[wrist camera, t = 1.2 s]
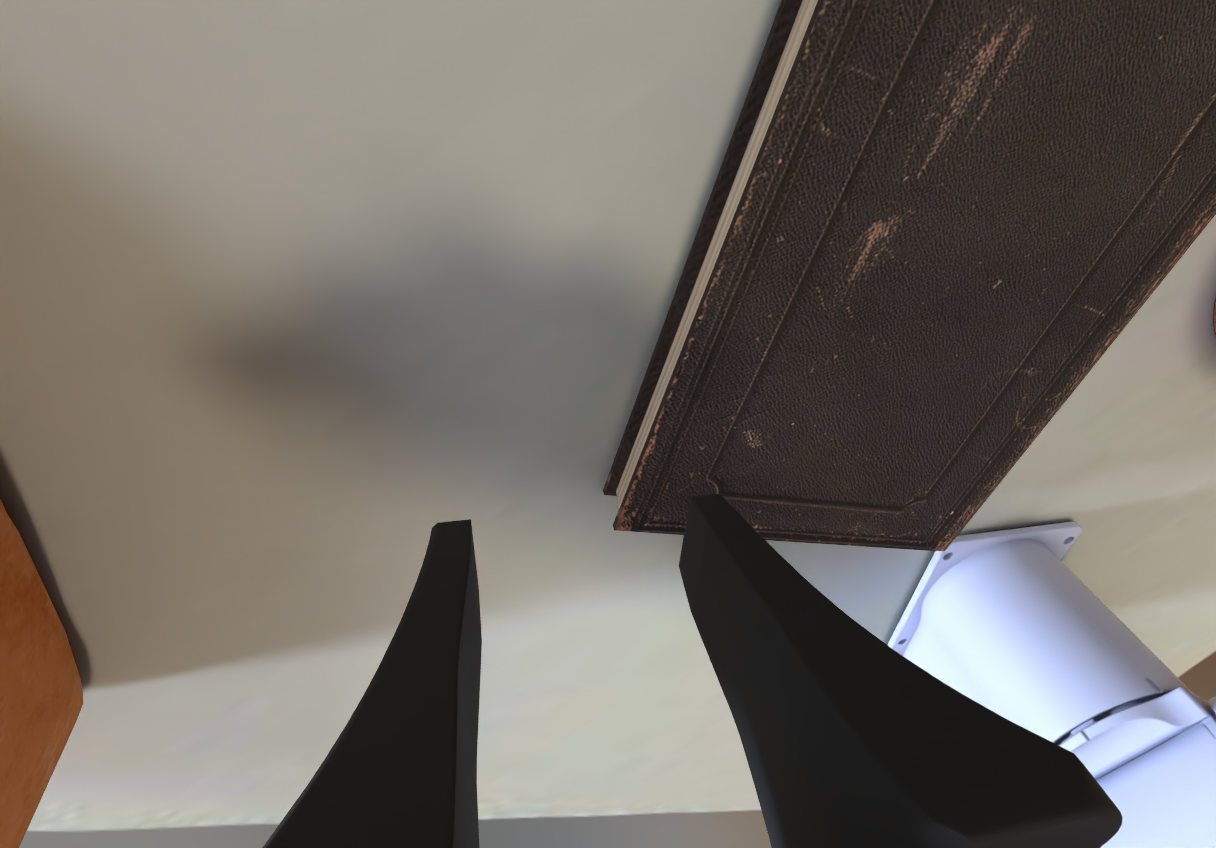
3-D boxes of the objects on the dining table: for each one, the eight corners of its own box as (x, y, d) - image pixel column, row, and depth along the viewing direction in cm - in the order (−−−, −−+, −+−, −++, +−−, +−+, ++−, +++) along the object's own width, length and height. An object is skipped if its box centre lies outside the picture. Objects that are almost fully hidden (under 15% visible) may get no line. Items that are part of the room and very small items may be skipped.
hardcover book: (602, 489, 25) (614, 531, 23) (918, -380, 13) (997, -436, 11) (923, 516, 30) (954, 553, 28) (1370, -83, 18) (1476, -86, 16)
